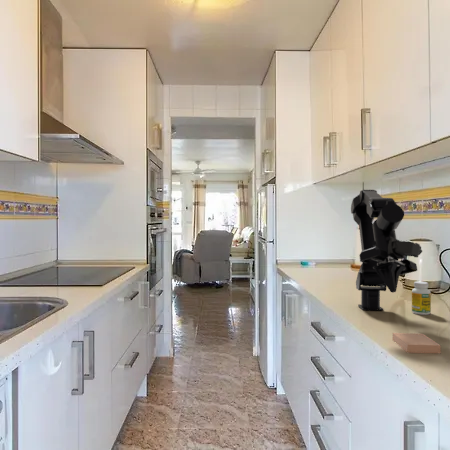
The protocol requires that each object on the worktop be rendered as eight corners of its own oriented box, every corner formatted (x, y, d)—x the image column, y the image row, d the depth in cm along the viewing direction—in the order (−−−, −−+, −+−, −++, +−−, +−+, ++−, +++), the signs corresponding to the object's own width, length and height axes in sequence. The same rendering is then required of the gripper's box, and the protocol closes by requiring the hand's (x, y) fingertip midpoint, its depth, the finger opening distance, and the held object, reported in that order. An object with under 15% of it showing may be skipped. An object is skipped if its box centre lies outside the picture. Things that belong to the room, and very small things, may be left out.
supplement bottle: (420, 310, 127) (420, 280, 127) (434, 314, 123) (434, 283, 122) (407, 312, 125) (407, 281, 125) (422, 315, 120) (422, 284, 120)
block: (392, 332, 96) (407, 344, 87) (422, 333, 95) (440, 345, 86) (392, 341, 96) (407, 354, 87) (422, 342, 95) (440, 355, 86)
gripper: (392, 219, 101) (401, 278, 95) (430, 238, 111) (441, 292, 105) (355, 232, 109) (362, 287, 103) (394, 249, 119) (402, 300, 113)
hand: (393, 292), depth 106 cm, fingers closed
